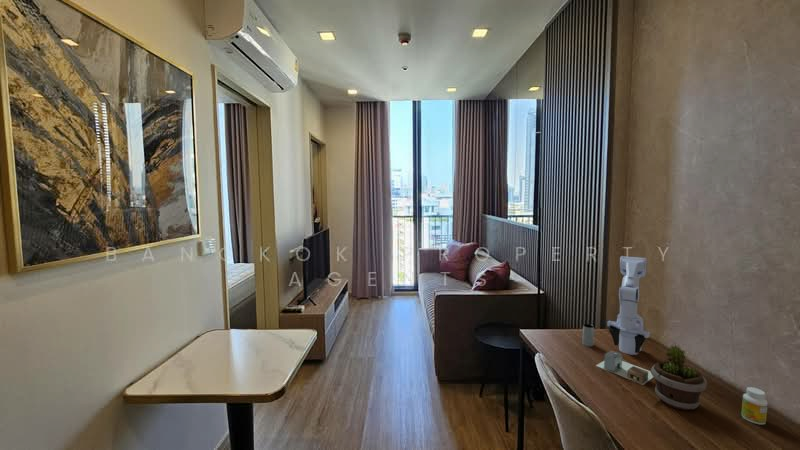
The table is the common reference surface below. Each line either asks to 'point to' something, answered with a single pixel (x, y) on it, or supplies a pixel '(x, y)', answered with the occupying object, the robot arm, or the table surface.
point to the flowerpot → (678, 381)
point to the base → (624, 370)
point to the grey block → (613, 361)
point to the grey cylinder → (588, 335)
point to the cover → (638, 374)
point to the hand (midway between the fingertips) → (626, 348)
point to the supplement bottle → (754, 406)
